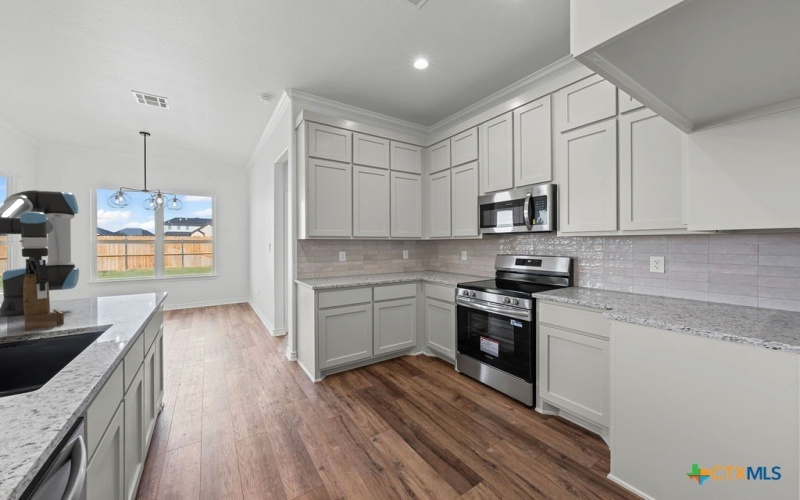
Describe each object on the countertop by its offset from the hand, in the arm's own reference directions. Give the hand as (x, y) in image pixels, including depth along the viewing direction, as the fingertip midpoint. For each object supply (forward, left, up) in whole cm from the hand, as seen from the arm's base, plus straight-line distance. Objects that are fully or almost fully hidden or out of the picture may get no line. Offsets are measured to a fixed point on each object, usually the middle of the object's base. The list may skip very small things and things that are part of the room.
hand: (37, 297), depth 139 cm
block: (0, 0, -10) cm, 10 cm away
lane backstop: (+6, -1, -13) cm, 14 cm away
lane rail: (-1, +7, -13) cm, 15 cm away
